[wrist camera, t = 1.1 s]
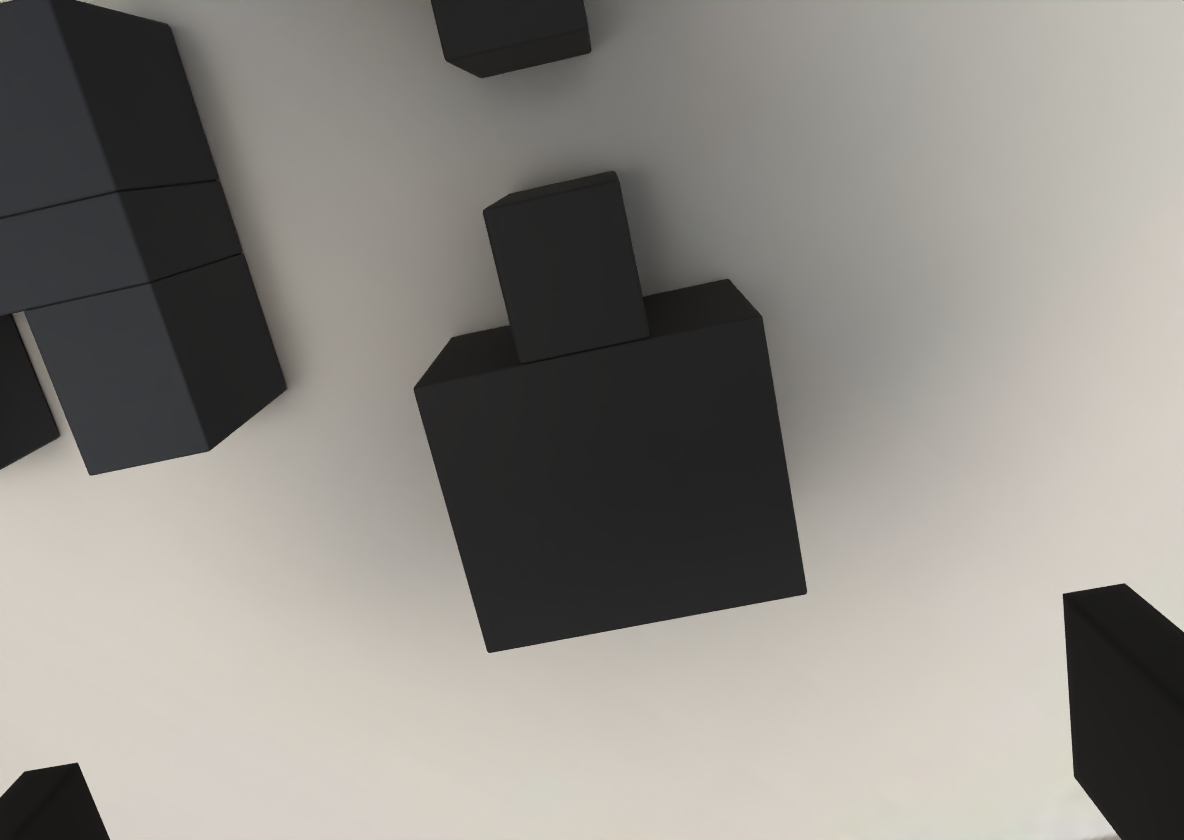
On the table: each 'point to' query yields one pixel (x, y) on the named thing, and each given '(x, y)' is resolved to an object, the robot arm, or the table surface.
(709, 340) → the pad
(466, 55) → the pad
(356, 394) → the table surface
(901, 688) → the table surface
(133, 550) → the table surface
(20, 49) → the pad
